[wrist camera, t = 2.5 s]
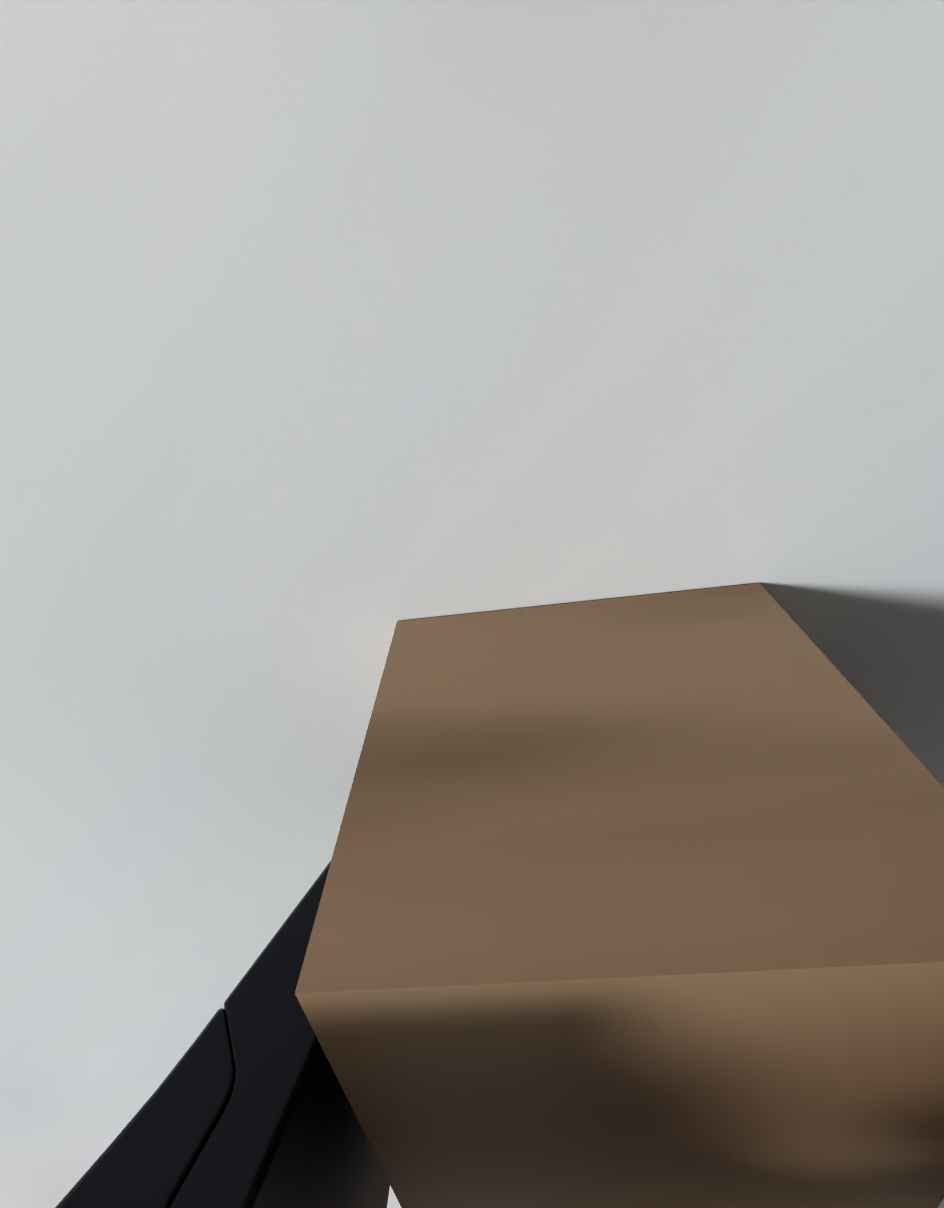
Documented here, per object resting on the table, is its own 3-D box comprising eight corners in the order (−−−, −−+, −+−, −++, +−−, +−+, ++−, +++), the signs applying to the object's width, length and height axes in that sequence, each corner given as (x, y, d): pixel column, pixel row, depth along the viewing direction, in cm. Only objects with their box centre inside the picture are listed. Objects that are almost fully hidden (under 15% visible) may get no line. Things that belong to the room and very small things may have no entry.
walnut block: (732, 836, 10) (912, 1247, 6) (450, 855, 11) (423, 1250, 6) (760, 583, 8) (1094, 954, 4) (397, 620, 8) (294, 993, 4)
